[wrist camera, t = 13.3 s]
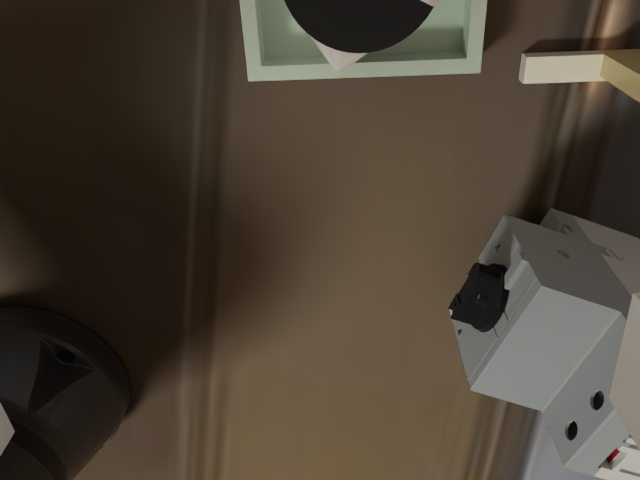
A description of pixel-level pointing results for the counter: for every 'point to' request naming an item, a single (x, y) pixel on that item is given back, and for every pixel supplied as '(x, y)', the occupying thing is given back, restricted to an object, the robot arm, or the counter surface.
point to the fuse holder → (584, 68)
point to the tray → (398, 60)
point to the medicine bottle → (358, 25)
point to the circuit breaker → (554, 331)
